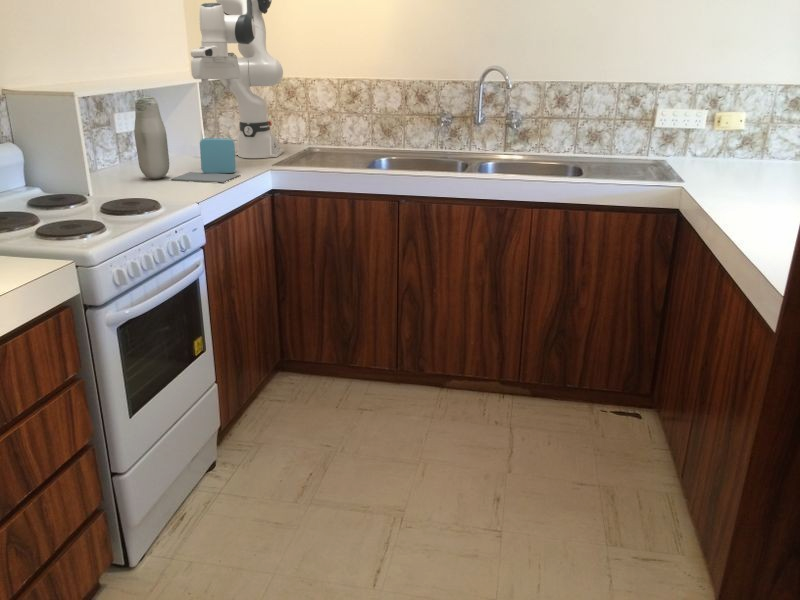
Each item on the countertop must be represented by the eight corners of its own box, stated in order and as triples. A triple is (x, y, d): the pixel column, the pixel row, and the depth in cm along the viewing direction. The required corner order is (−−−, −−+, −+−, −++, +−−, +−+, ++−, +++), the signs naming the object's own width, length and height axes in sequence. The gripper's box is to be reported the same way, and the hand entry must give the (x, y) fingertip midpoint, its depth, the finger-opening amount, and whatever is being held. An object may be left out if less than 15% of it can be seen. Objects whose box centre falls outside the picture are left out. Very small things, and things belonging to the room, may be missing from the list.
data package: (235, 171, 250) (233, 138, 246) (235, 173, 246) (234, 139, 242) (201, 171, 247) (199, 138, 243) (201, 173, 243) (199, 139, 239)
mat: (190, 173, 246) (189, 172, 246) (240, 176, 242) (240, 174, 241) (170, 180, 234) (170, 178, 234) (223, 183, 230) (223, 181, 230)
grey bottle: (144, 175, 241) (133, 94, 231) (173, 175, 242) (164, 94, 232) (137, 181, 232) (125, 97, 222) (167, 181, 233) (157, 96, 223)
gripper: (230, 53, 249) (233, 92, 254) (186, 51, 233) (190, 93, 237) (242, 52, 246) (245, 92, 251) (199, 50, 230) (203, 93, 234)
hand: (218, 92), depth 244 cm, fingers open, 8 cm apart
